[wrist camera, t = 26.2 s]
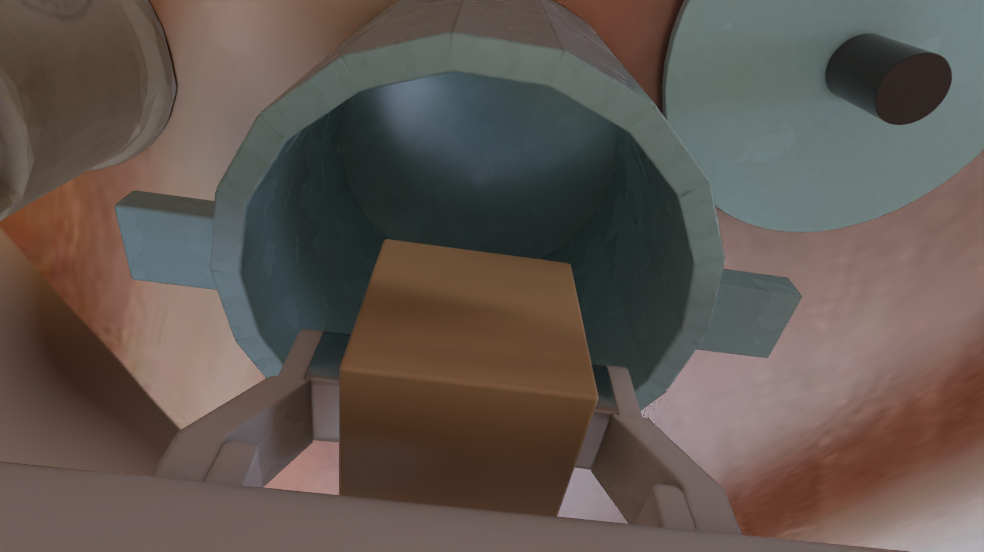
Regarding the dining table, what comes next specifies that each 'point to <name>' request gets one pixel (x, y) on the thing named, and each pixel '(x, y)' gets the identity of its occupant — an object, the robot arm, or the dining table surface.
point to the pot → (466, 191)
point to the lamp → (77, 90)
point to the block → (465, 381)
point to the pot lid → (826, 103)
